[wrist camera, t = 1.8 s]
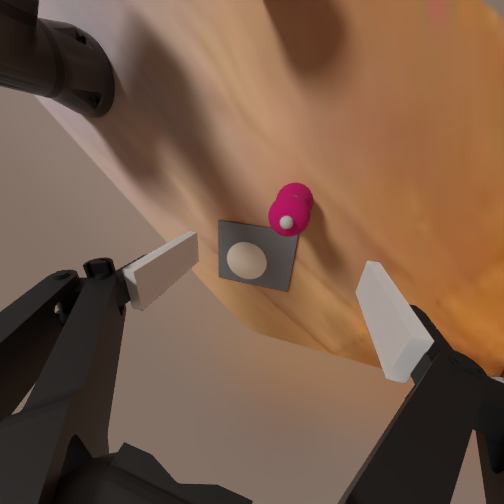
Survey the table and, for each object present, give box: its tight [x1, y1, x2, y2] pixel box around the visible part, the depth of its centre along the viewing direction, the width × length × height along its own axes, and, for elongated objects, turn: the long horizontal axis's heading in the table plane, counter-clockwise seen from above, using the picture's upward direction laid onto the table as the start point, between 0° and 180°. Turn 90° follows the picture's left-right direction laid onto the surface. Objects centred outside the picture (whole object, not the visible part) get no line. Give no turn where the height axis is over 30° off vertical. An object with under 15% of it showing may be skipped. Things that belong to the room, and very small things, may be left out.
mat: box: [218, 220, 298, 292], centre depth 50 cm, size 20×17×1 cm
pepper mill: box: [268, 183, 313, 237], centre depth 33 cm, size 7×7×20 cm
